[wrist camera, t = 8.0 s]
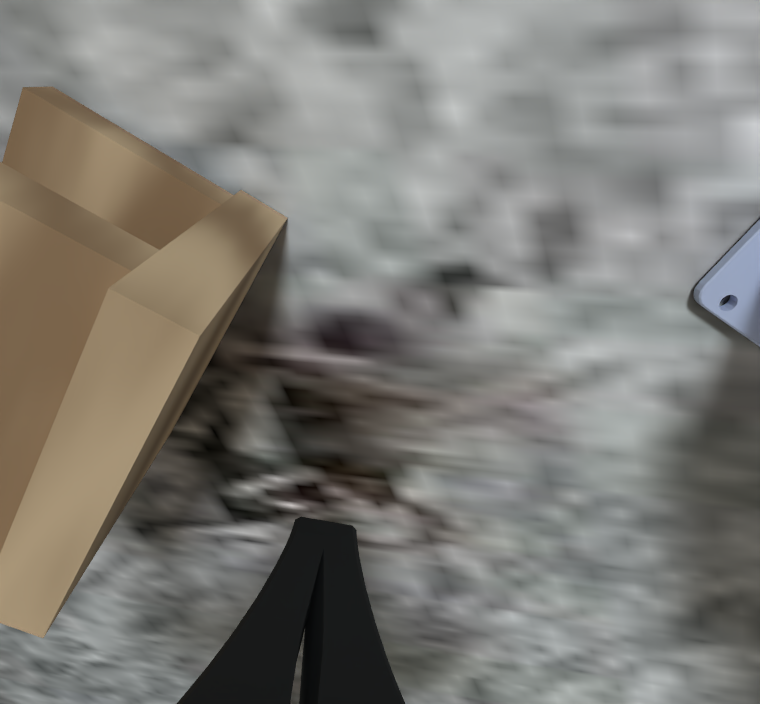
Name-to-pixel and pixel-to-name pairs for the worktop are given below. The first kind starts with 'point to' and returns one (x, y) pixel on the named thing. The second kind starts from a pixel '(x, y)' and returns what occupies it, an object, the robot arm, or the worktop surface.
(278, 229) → the tan notched block
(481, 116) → the worktop surface
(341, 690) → the robot arm
